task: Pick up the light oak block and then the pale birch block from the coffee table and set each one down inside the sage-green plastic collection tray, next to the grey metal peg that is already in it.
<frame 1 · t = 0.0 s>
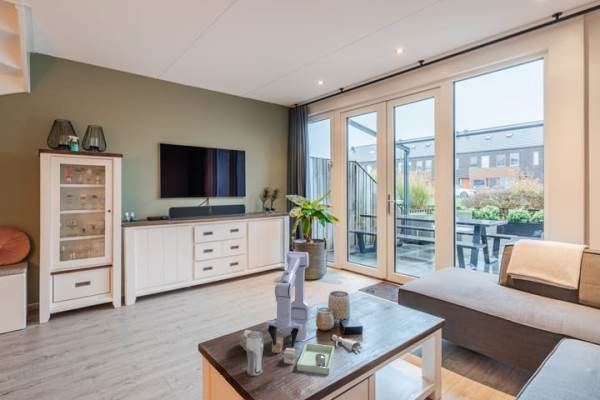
hand: (283, 345, 127), 10 cm above the table, fingers open, 7 cm apart
fossil replica: (250, 348, 144), on the table
part oak: (277, 350, 142), on the table
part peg: (320, 368, 127), point 1 cm above the table, touching tray
part birch: (289, 362, 133), on the table
beer glass: (254, 372, 126), on the table
woman figurine: (345, 346, 147), on the table
tray: (316, 361, 133), on the table
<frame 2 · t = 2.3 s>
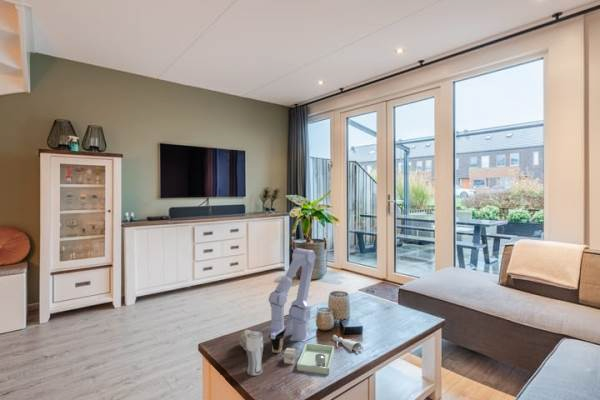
hand: (277, 347, 142), 1 cm above the table, fingers closed on part oak, 4 cm apart
part oak: (277, 350, 142), on the table, touching gripper
when the fingers open (4 cm above the table, at t = 5.3 s): part oak stays where it is, resting on tray.
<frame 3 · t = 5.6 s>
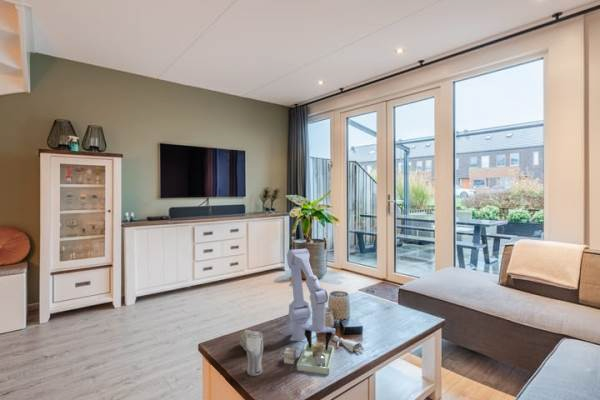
hand: (318, 348, 137), 4 cm above the table, fingers open, 7 cm apart
part oak: (318, 355, 137), point 1 cm above the table, touching tray
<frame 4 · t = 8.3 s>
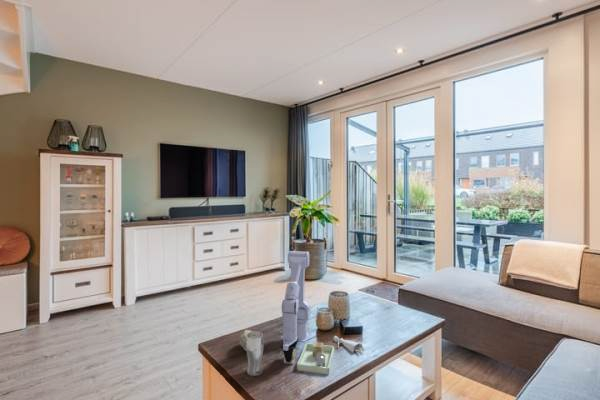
hand: (289, 358, 133), 1 cm above the table, fingers closed on part birch, 4 cm apart
part birch: (289, 362, 133), on the table, touching gripper
when the fingers open (4 cm above the table, at t = 11.0 s): part birch drops 1 cm, resting on tray.
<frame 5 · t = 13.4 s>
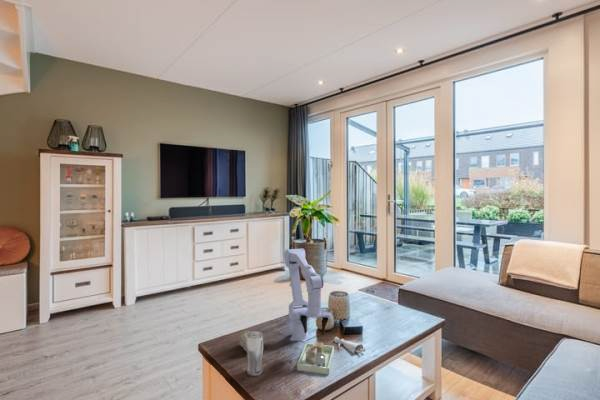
hand: (314, 333, 138), 10 cm above the table, fingers open, 7 cm apart
part birch: (311, 361, 132), point 1 cm above the table, touching tray
at the end: part oak inside the target area on the tray (3.8 cm from its centre), point 0.6 cm above the tray's base; part birch inside the target area on the tray (2.3 cm from its centre), point 0.6 cm above the tray's base; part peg inside the target area on the tray (6.0 cm from its centre), point 0.6 cm above the tray's base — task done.
